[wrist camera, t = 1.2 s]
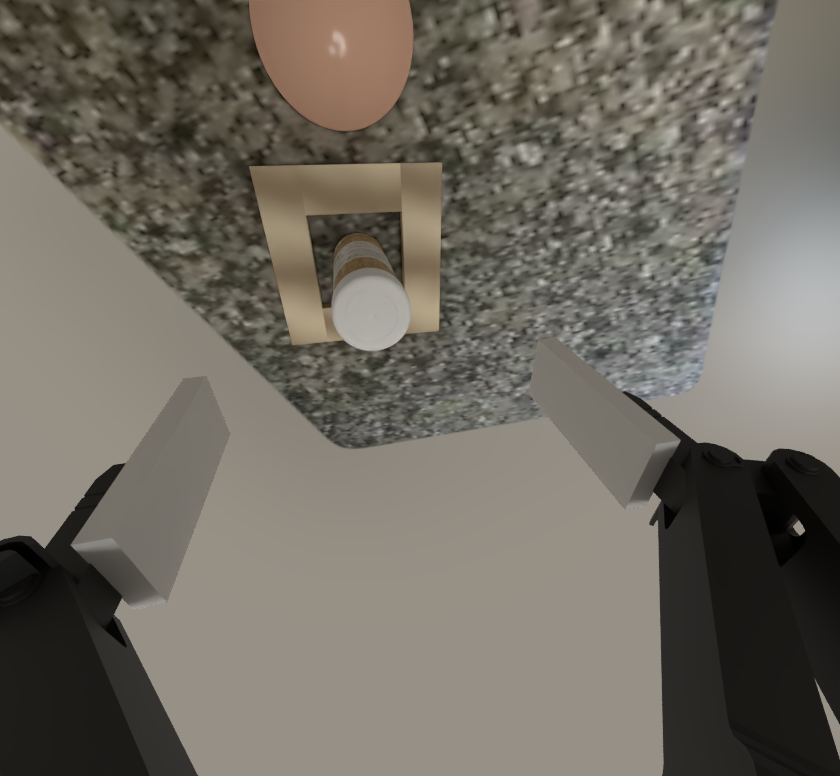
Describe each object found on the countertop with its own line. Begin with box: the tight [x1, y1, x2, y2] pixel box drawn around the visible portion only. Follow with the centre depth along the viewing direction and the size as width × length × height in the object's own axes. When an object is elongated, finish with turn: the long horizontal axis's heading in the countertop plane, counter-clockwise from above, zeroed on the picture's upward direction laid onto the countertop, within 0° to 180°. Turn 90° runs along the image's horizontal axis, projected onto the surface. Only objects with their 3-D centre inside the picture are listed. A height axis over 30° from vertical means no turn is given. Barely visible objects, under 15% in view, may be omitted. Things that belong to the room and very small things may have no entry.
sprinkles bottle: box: [331, 233, 412, 351], centre depth 25 cm, size 5×5×13 cm
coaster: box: [249, 0, 413, 131], centre depth 22 cm, size 10×10×1 cm
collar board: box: [249, 162, 442, 345], centre depth 30 cm, size 14×14×1 cm
